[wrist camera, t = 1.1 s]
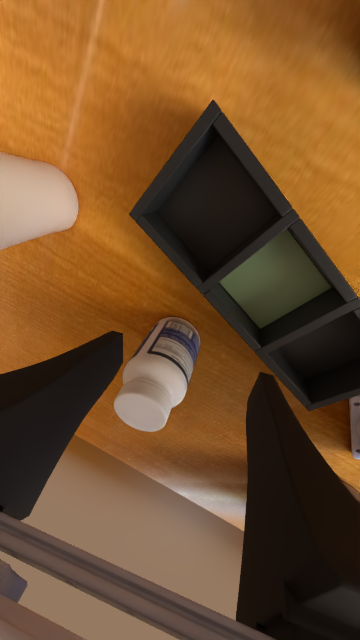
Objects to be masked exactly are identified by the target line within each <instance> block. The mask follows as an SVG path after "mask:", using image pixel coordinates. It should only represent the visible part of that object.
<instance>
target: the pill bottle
mask: <svg viewBox="0 0 360 640" xmlns="http://www.w3.org/2000/svg"><path fill="white" fill-rule="evenodd" d="M199 348H200V336H199V334H198V332H197V330H196V328H195V327H194V326H193V325H192V324H191V323H189V322H188V321H186V320H184V319H182V318H178V317H167V318H164V319H161V320H160V321H158V322H157V323H156V324H155V325H154V326H153V328H152V329H151V331H150V332H149V333H148V335H147V336H146V338H145V339H144V341H143V342H142V343H141V345H140V346H139V348H138V349H137V350H136V352H135V353H134V355H133V356H132V358H131V359H130V360H129V362H128V363H127V365H126V367H125V369H124V372H123V383H124V385H123V386H122V388H121V390H120V391H119V393H118V395H117V396H116V398H115V400H114V409H115V411H116V413H117V415H118V416H119V417H120V418H121V419H122V420H123V421H124V422H125V423H126V424H128V425H129V426H131V427H133V428H135V429H138V430H141V431H147V432H154V431H158V430H160V429H162V428H163V427H164V426H165V424H166V422H167V419H168V416H169V414H170V411H171V408H173V407H175V406H177V405H178V404H179V403H180V402H181V401H182V400H183V398H184V396H185V394H186V391H187V388H188V385H189V381H190V378H191V375H192V371H193V368H194V365H195V362H196V358H197V355H198V352H199Z"/></svg>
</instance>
